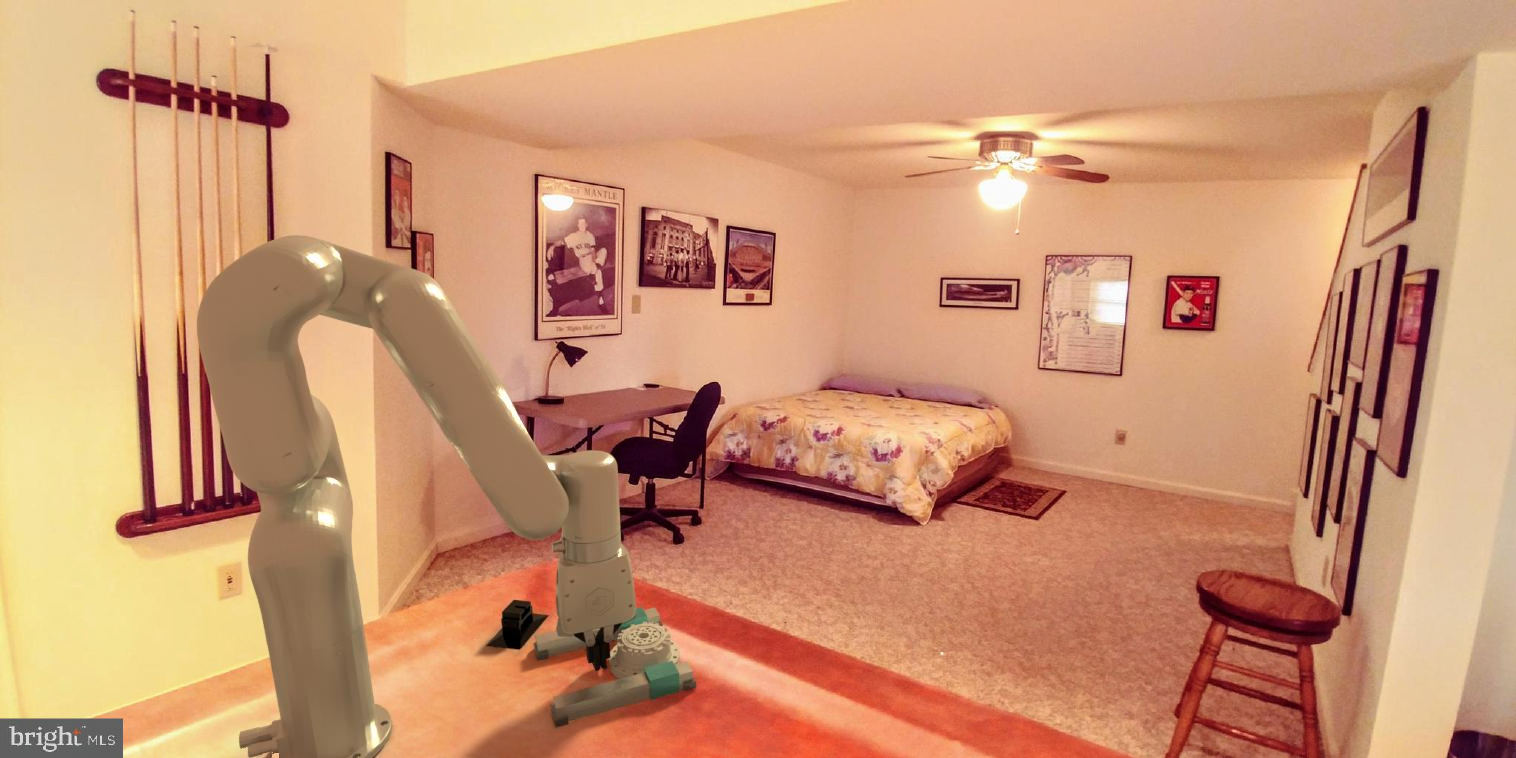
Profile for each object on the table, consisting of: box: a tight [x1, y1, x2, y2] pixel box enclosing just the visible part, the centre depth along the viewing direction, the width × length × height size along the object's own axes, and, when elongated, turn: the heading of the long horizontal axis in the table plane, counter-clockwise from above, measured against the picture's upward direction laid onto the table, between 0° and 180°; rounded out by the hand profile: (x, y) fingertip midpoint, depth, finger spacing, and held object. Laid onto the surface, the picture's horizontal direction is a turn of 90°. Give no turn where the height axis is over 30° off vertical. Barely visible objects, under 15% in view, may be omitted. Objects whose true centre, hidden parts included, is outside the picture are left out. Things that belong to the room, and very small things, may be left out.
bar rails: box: [532, 606, 697, 729], centre depth 103 cm, size 19×18×3 cm
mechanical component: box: [608, 622, 681, 679], centre depth 104 cm, size 10×4×10 cm
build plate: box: [485, 599, 549, 651], centre depth 112 cm, size 12×7×5 cm, turn 169°
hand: (598, 664), depth 102 cm, fingers closed
